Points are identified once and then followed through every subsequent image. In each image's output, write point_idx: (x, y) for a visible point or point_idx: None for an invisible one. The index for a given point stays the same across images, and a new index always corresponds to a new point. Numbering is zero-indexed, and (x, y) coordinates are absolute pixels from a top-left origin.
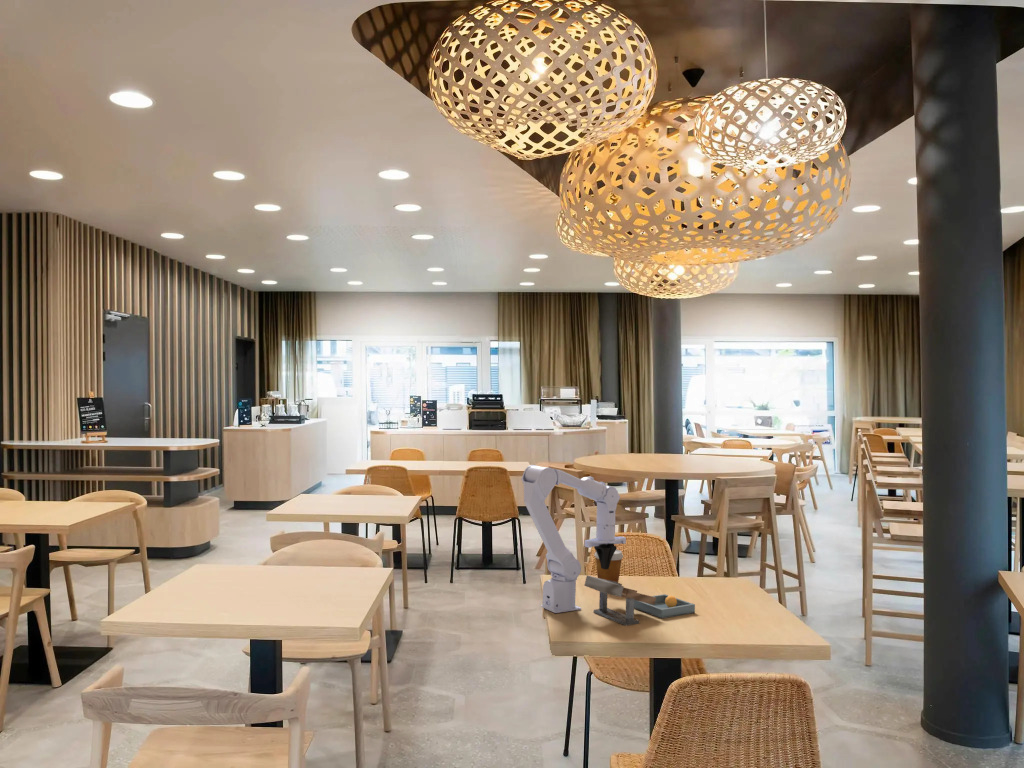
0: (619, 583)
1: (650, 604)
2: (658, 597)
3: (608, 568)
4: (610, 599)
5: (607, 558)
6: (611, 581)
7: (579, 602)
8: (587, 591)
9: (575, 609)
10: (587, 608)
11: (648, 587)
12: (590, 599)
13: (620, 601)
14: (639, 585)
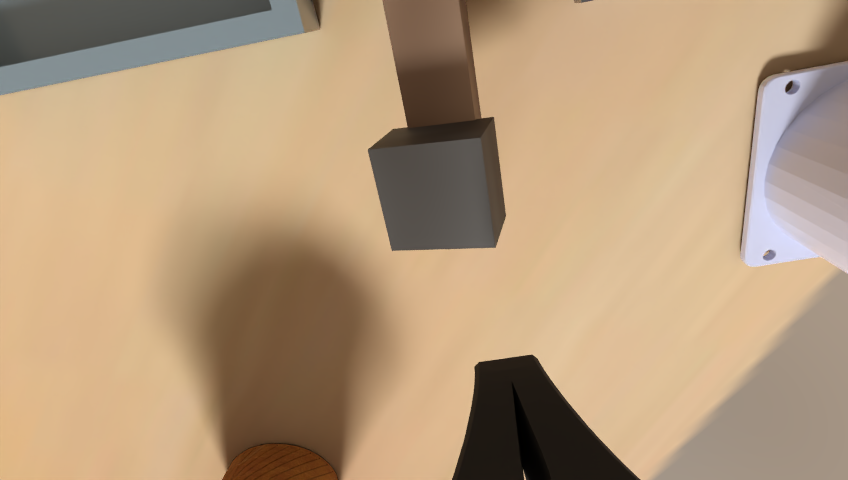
0: (401, 149)
1: (138, 29)
2: (17, 63)
3: (482, 365)
4: (387, 271)
5: (560, 472)
6: (489, 191)
7: (635, 261)
8: (442, 445)
9: (831, 64)
10: (683, 106)
11: (28, 435)
12: (521, 303)
13: (339, 210)
14: (76, 477)
